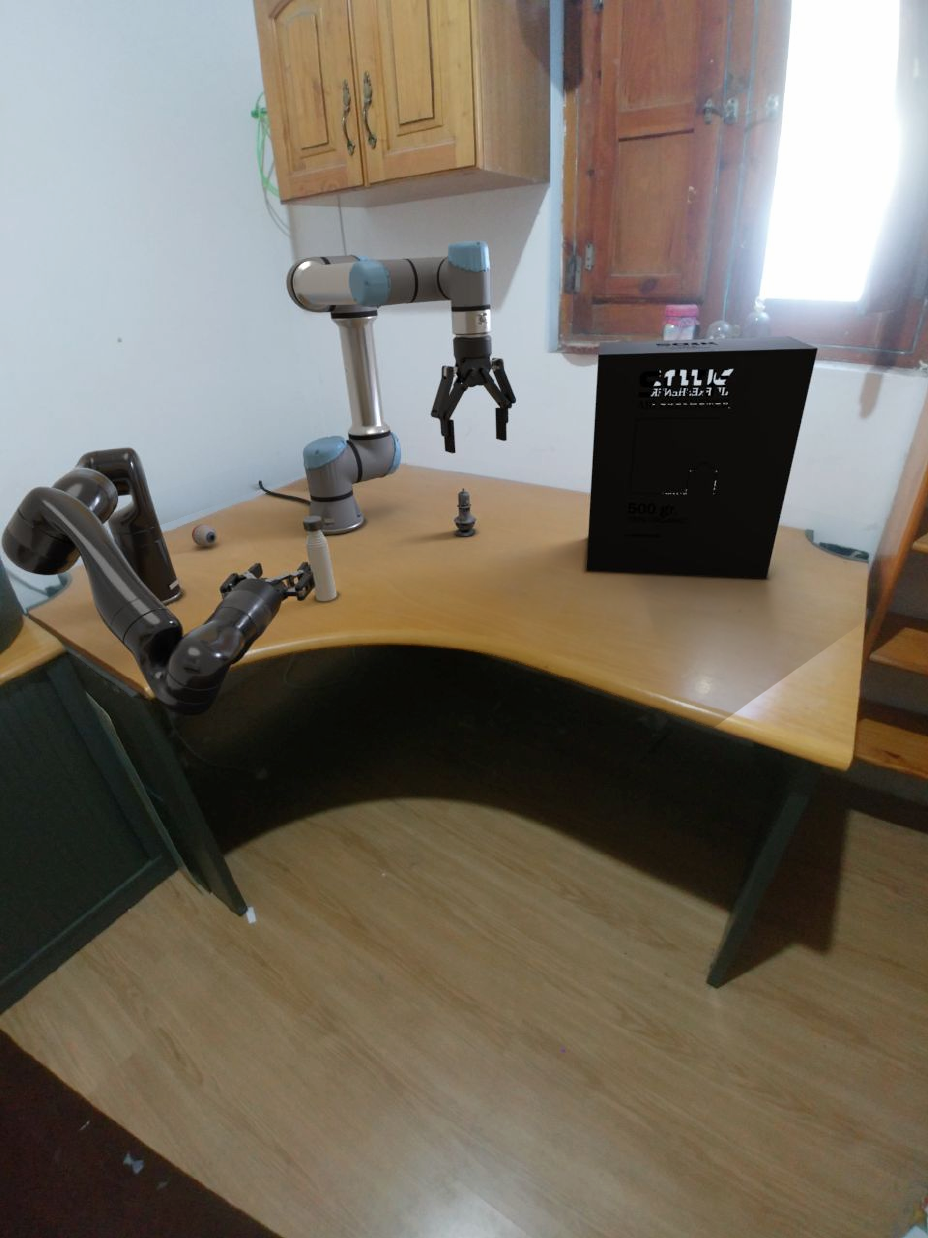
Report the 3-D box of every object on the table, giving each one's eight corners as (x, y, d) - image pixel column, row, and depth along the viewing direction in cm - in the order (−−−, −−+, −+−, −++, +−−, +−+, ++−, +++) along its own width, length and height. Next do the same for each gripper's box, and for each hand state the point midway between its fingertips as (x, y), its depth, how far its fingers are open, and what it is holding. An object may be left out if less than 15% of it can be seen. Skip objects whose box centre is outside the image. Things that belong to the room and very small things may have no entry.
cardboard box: (748, 541, 145) (788, 336, 123) (766, 578, 128) (817, 348, 106) (588, 536, 153) (599, 342, 130) (586, 571, 136) (598, 354, 113)
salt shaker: (474, 536, 157) (472, 491, 151) (452, 536, 158) (449, 491, 152) (478, 528, 161) (476, 484, 155) (457, 527, 163) (454, 484, 157)
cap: (316, 523, 126) (314, 514, 125) (326, 527, 124) (325, 518, 123) (300, 529, 124) (298, 519, 123) (311, 533, 121) (309, 523, 120)
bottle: (328, 590, 134) (315, 515, 126) (340, 595, 132) (327, 519, 123) (312, 597, 132) (297, 521, 123) (324, 603, 129) (309, 526, 120)
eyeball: (205, 552, 157) (199, 530, 154) (190, 548, 160) (184, 526, 157) (224, 544, 161) (219, 522, 158) (209, 540, 164) (203, 519, 161)
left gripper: (208, 634, 94) (249, 587, 108) (296, 633, 92) (326, 585, 106) (194, 591, 90) (239, 548, 104) (286, 590, 88) (319, 546, 102)
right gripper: (429, 342, 108) (437, 460, 118) (533, 329, 120) (532, 437, 131) (407, 340, 113) (417, 454, 124) (508, 328, 125) (510, 432, 136)
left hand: (283, 567), depth 105 cm, fingers open, 8 cm apart
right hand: (476, 445), depth 127 cm, fingers open, 13 cm apart
